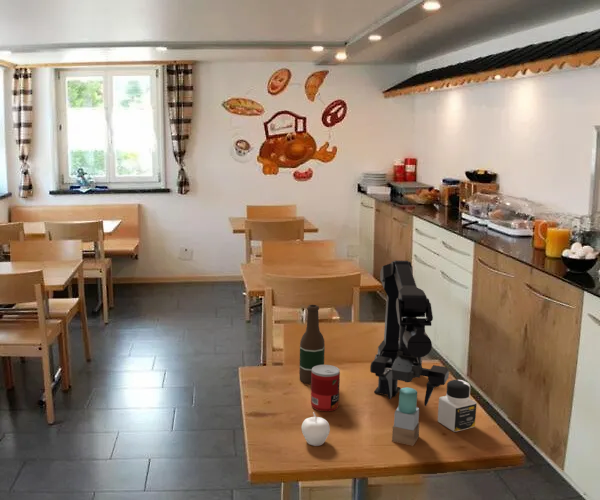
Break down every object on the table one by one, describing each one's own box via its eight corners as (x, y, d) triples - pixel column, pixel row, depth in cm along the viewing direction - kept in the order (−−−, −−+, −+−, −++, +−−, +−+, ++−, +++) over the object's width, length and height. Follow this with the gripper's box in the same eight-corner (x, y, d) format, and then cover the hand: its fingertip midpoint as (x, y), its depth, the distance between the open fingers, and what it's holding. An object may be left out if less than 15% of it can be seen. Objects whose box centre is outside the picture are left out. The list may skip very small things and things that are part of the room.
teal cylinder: (396, 411, 163) (397, 393, 162) (401, 403, 167) (402, 386, 166) (413, 415, 161) (414, 397, 160) (418, 407, 165) (419, 389, 164)
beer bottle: (308, 373, 208) (310, 300, 204) (328, 379, 204) (330, 305, 199) (294, 380, 202) (295, 306, 197) (314, 386, 198) (316, 310, 193)
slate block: (399, 418, 168) (400, 404, 167) (418, 422, 166) (419, 407, 165) (393, 426, 164) (394, 411, 163) (413, 430, 162) (414, 415, 161)
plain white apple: (309, 433, 168) (310, 404, 166) (334, 440, 164) (335, 411, 163) (295, 444, 162) (296, 414, 160) (320, 452, 158) (321, 421, 157)
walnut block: (398, 432, 169) (398, 418, 168) (418, 436, 167) (419, 422, 166) (392, 441, 164) (392, 426, 164) (413, 446, 162) (414, 431, 161)
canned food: (336, 413, 180) (337, 375, 178) (308, 410, 181) (309, 373, 179) (340, 401, 187) (341, 365, 185) (313, 399, 189) (314, 363, 186)
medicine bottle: (454, 432, 169) (457, 389, 167) (436, 421, 176) (439, 379, 173) (475, 427, 173) (478, 384, 170) (457, 416, 179) (460, 375, 177)
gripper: (364, 346, 157) (362, 407, 160) (441, 359, 150) (437, 422, 153) (378, 334, 167) (375, 390, 170) (451, 345, 160) (447, 404, 163)
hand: (407, 402), depth 164 cm, fingers open, 9 cm apart
